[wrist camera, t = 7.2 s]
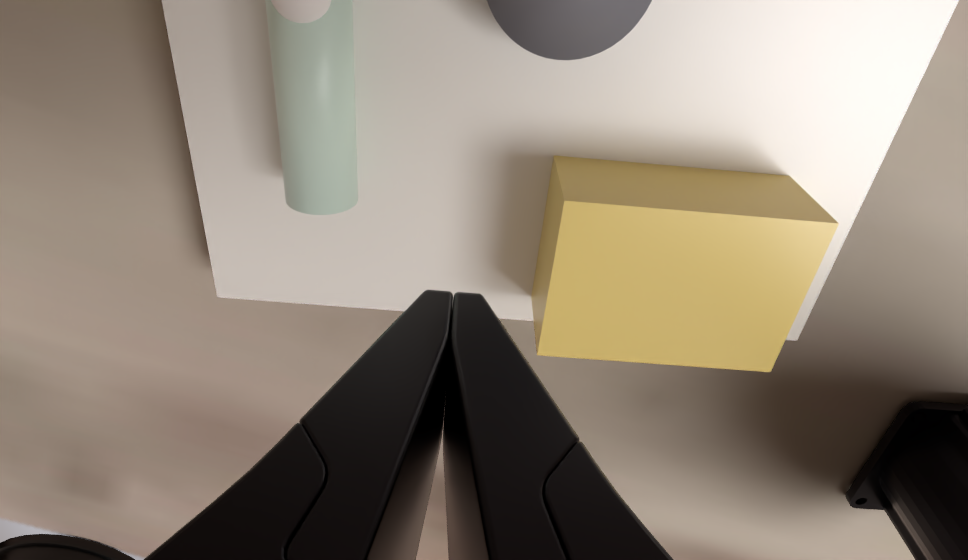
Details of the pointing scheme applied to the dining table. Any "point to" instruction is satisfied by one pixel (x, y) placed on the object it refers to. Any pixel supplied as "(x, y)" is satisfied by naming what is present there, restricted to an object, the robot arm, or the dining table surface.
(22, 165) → the dining table surface
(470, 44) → the instrument board
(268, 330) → the dining table surface
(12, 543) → the french press
